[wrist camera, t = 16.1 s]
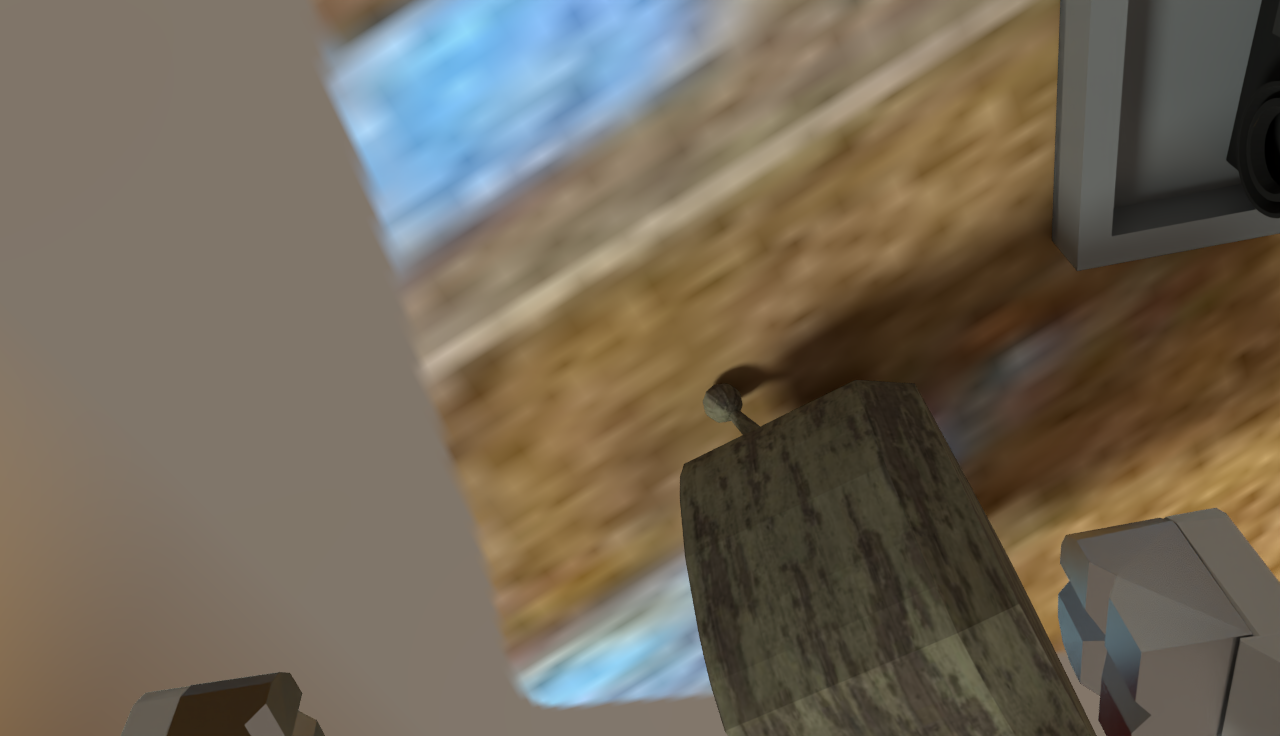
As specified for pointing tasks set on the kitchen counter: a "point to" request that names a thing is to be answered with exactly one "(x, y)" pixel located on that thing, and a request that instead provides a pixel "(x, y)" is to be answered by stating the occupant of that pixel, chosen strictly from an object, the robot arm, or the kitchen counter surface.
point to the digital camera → (1260, 116)
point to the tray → (1150, 129)
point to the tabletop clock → (860, 580)
